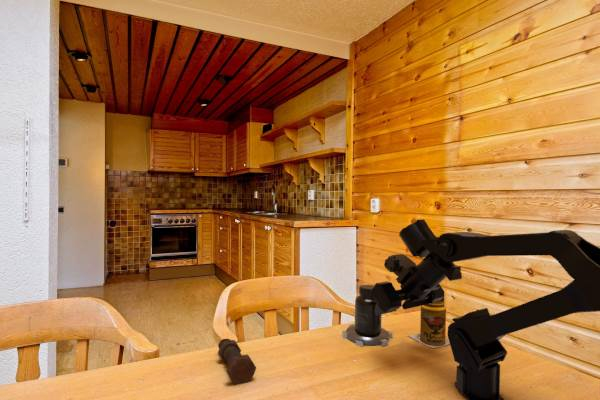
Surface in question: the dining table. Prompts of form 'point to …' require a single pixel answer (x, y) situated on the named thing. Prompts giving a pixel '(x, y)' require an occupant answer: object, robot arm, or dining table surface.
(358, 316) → the supplement bottle
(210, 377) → the dining table surface
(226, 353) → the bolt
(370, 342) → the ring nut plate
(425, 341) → the condiment
